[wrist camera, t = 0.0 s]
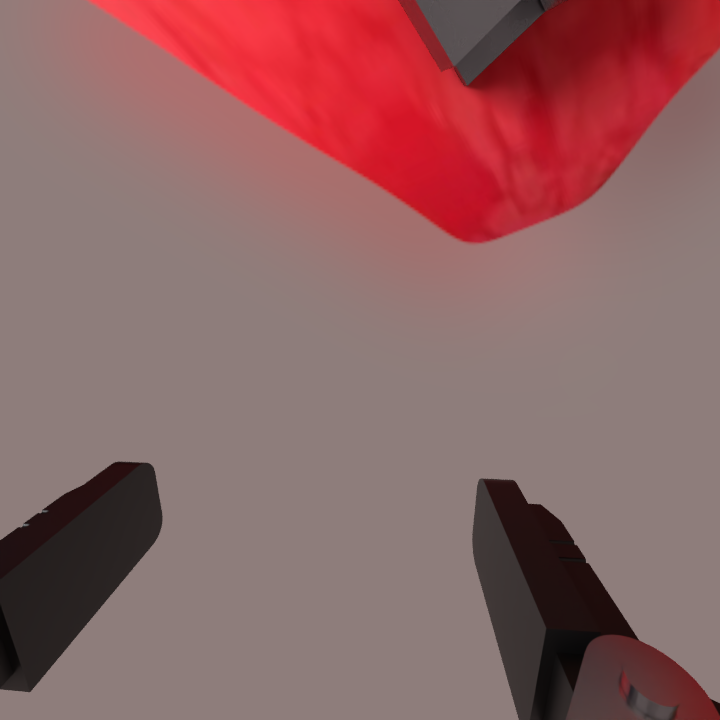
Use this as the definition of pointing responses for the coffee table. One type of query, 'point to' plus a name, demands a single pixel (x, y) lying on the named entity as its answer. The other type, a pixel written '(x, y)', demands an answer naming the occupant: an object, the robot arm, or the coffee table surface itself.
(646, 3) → the coffee table surface
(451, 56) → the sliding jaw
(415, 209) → the coffee table surface
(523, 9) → the vise
